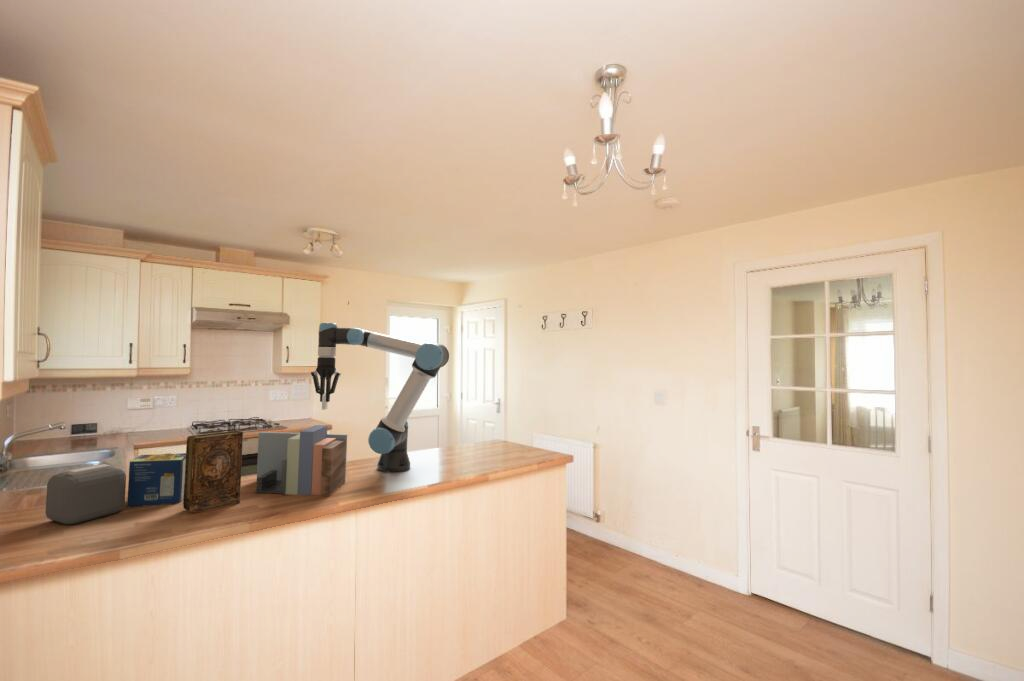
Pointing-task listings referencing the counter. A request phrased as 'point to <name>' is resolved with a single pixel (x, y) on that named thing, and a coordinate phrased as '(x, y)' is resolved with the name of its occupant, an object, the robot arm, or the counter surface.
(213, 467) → the book
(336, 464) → the end stop
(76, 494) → the grey rounded-edge box
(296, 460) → the green book
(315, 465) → the terracotta book
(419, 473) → the counter surface
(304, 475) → the navy book
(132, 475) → the protein box
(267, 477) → the bookend
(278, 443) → the back rail
